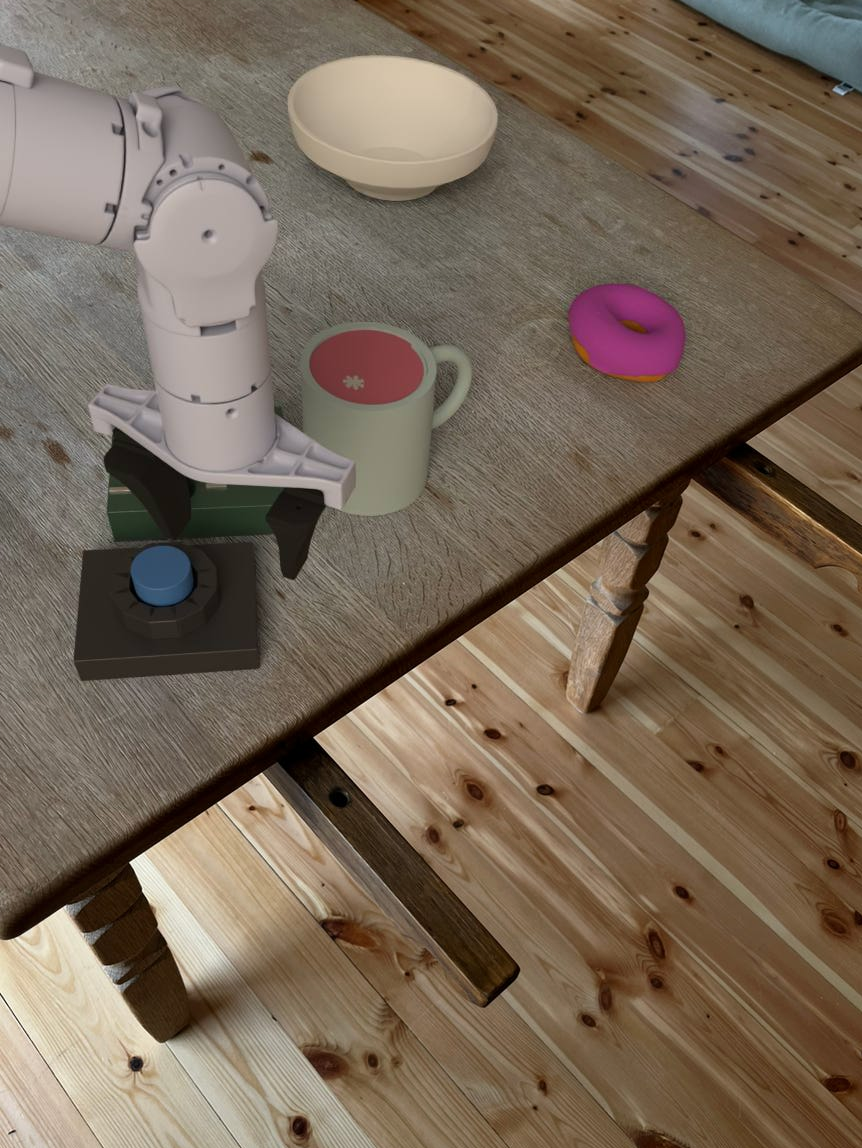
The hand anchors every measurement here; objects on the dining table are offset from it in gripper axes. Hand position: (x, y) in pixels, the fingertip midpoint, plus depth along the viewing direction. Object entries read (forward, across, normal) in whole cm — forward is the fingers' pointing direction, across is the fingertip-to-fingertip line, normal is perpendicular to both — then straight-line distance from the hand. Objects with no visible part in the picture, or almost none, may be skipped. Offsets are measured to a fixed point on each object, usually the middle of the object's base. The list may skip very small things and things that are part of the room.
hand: (236, 547), depth 62 cm
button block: (+8, +5, +1) cm, 10 cm away
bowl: (+8, +11, -55) cm, 57 cm away
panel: (+8, +9, -10) cm, 16 cm away
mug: (+8, -3, -19) cm, 21 cm away
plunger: (+5, +5, +1) cm, 7 cm away
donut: (+8, -16, -39) cm, 43 cm away
